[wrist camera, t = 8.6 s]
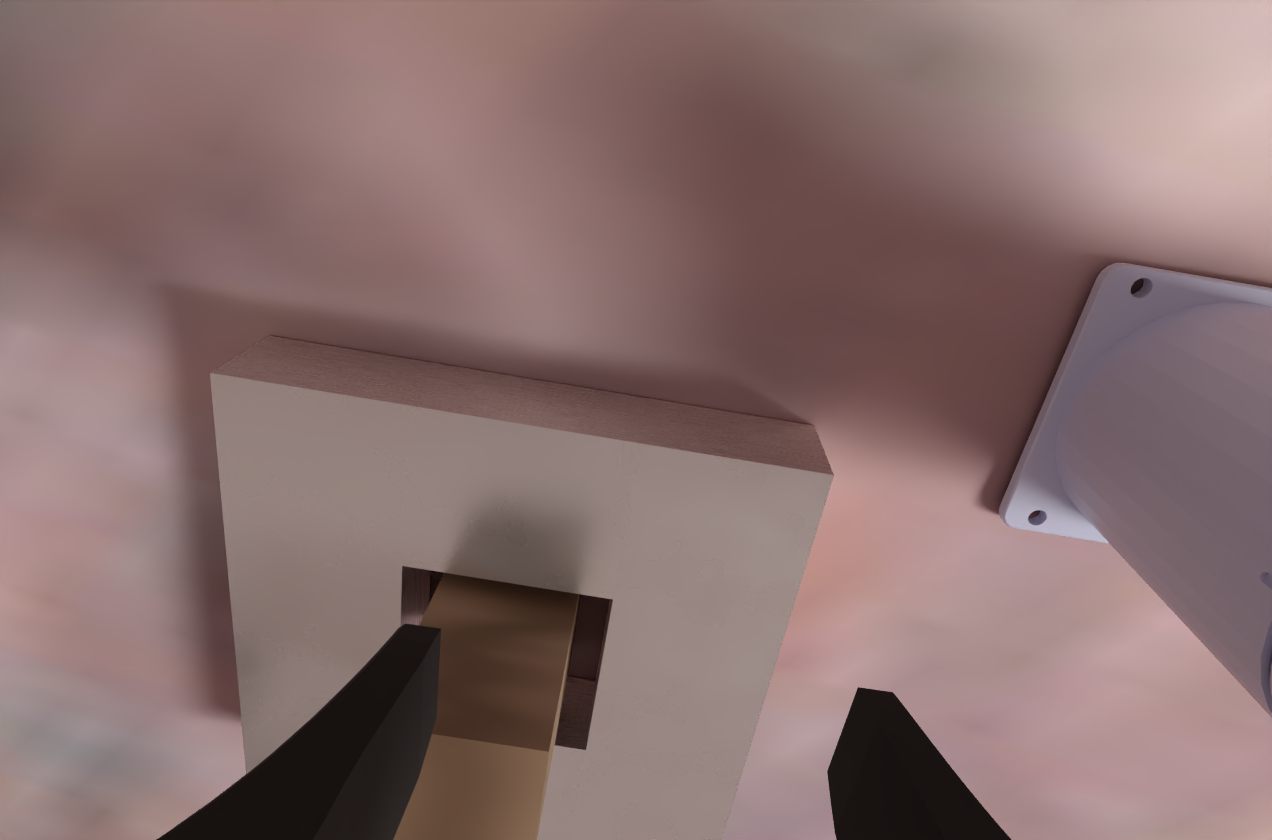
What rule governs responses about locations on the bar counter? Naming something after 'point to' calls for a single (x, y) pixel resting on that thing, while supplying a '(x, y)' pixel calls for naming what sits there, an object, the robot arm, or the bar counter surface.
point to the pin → (492, 709)
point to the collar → (519, 556)
